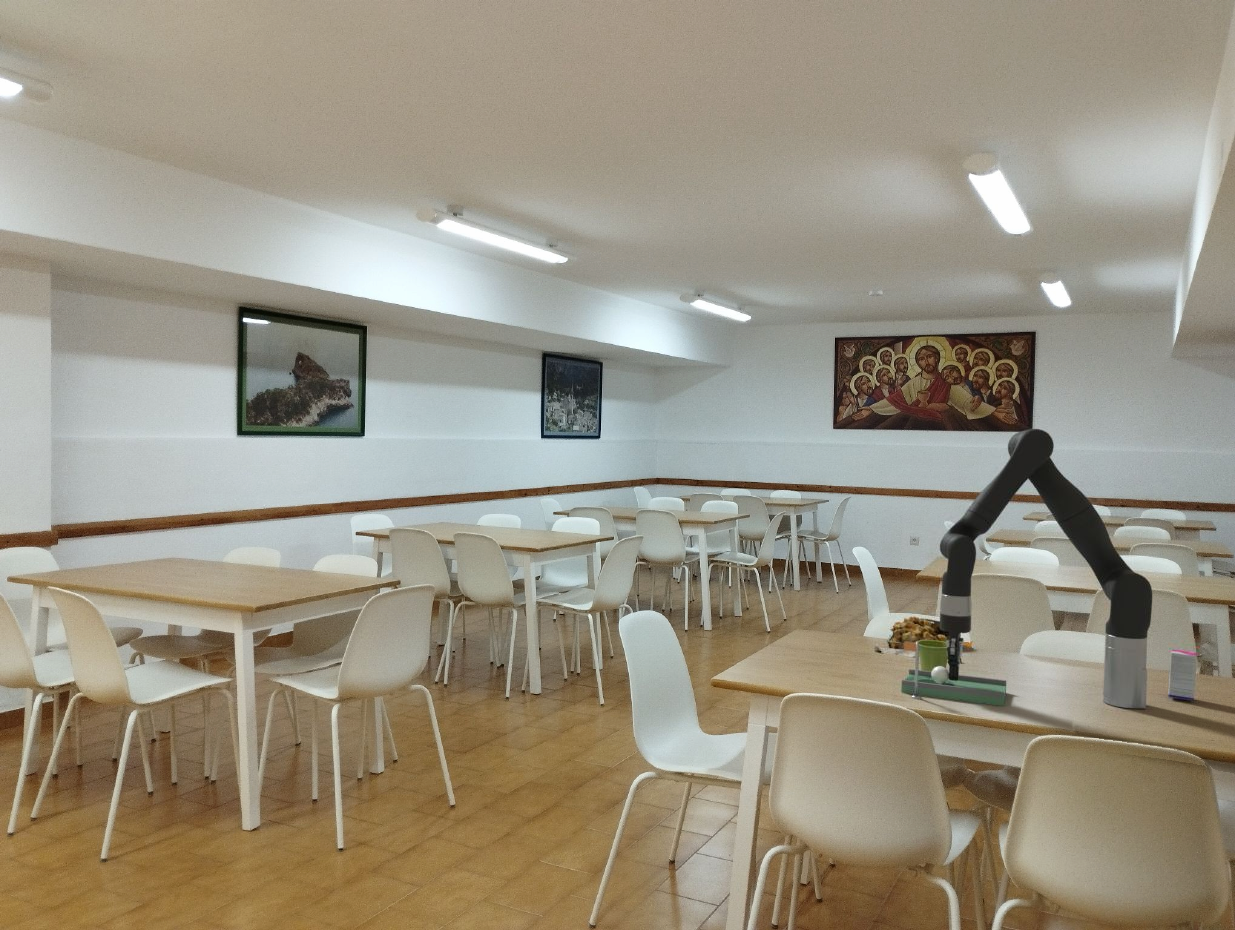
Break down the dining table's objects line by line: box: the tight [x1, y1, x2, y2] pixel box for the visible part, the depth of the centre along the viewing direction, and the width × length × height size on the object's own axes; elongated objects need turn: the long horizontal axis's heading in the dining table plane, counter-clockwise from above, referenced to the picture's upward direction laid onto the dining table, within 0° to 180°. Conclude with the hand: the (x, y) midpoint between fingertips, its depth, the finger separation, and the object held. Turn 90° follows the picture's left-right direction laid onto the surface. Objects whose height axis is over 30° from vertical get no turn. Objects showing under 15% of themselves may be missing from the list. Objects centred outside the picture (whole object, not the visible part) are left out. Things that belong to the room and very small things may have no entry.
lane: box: [900, 668, 1007, 707], centre depth 240 cm, size 24×14×3 cm, turn 65°
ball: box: [931, 666, 949, 684], centre depth 241 cm, size 4×4×4 cm
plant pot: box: [917, 640, 948, 672], centre depth 258 cm, size 9×9×9 cm
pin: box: [904, 641, 922, 700], centre depth 234 cm, size 4×2×14 cm, turn 65°
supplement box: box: [1167, 648, 1198, 701], centre depth 241 cm, size 6×6×12 cm
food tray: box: [874, 615, 974, 664], centre depth 295 cm, size 35×26×11 cm
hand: (953, 679), depth 240 cm, fingers closed
